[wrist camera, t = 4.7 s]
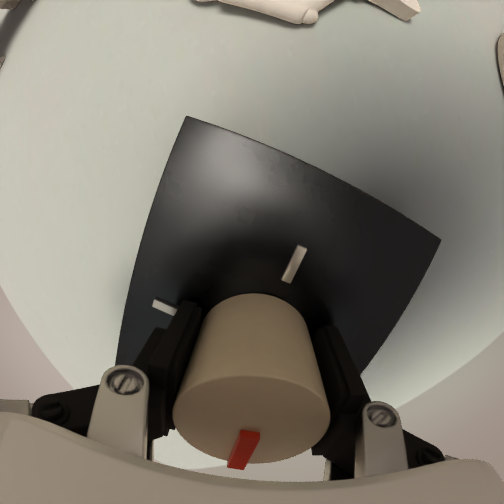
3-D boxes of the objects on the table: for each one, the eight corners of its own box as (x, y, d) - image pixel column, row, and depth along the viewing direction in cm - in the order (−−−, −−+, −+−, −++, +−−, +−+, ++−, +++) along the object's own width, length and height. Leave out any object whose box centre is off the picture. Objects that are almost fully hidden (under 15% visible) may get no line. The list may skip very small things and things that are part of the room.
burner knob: (209, 280, 10) (173, 364, 5) (323, 305, 10) (361, 393, 6) (194, 368, 11) (167, 455, 7) (289, 387, 11) (299, 474, 7)
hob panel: (202, 128, 11) (184, 114, 8) (408, 225, 12) (444, 241, 9) (130, 360, 15) (110, 393, 12) (289, 415, 16) (292, 451, 13)
